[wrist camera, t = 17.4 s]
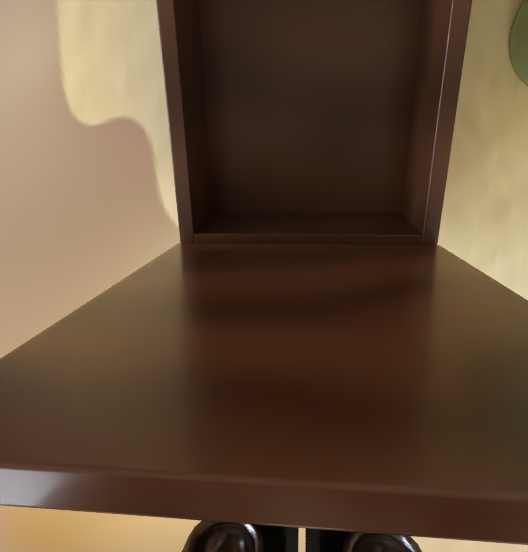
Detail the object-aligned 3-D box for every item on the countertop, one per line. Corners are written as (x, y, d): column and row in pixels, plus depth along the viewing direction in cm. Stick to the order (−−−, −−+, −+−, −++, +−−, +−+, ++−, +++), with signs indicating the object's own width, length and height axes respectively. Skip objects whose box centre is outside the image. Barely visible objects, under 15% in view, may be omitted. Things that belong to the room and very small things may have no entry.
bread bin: (183, -60, 22) (144, -117, 17) (444, -77, 21) (492, -145, 15) (204, 221, 28) (180, 247, 22) (410, 222, 26) (436, 250, 21)
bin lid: (-152, 454, 6) (-136, 497, 6) (888, 522, 5) (861, 573, 5) (178, 242, 22) (178, 257, 22) (440, 245, 20) (438, 260, 21)
